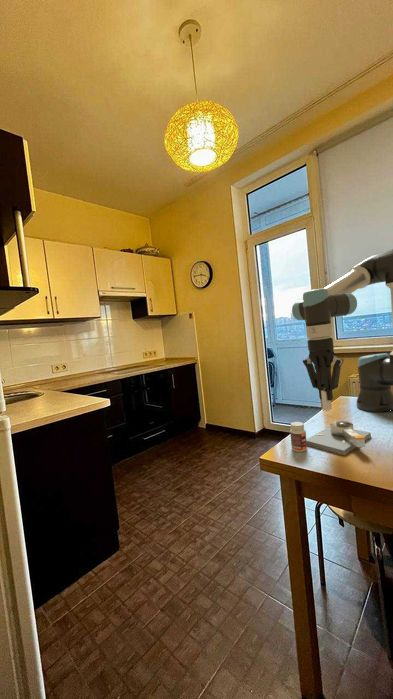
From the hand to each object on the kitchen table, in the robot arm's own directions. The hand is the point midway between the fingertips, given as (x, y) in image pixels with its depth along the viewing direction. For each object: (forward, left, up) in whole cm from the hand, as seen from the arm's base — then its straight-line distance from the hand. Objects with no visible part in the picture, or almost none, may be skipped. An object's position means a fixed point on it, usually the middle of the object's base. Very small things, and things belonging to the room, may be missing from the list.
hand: (327, 409), depth 94 cm
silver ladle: (-3, +4, -10) cm, 11 cm away
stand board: (-3, +1, -11) cm, 12 cm away
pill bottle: (+10, -5, -12) cm, 16 cm away
